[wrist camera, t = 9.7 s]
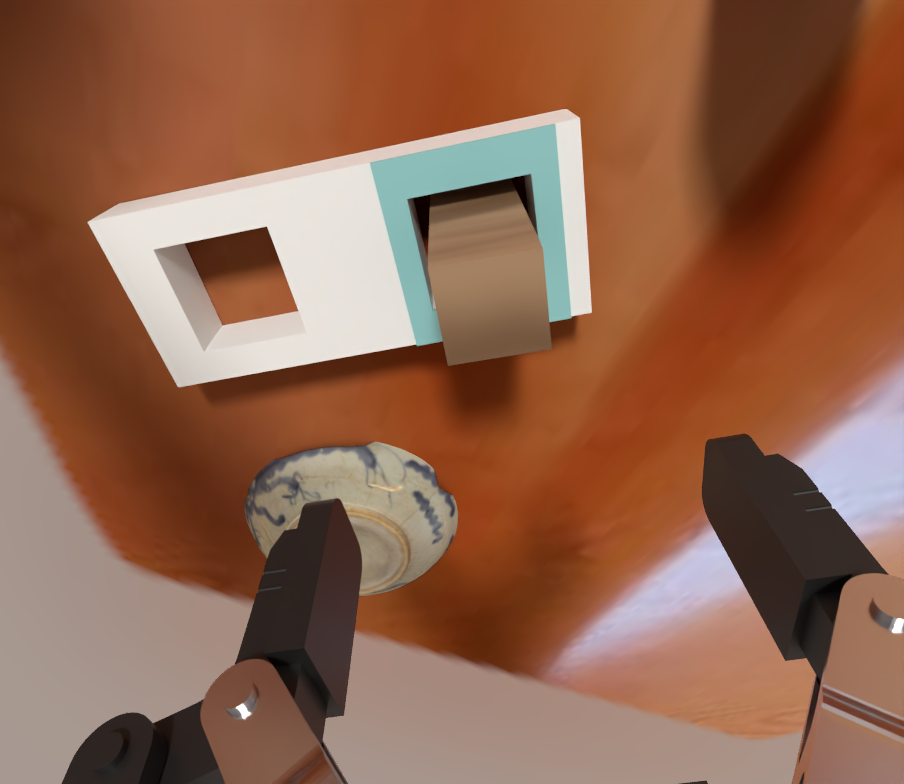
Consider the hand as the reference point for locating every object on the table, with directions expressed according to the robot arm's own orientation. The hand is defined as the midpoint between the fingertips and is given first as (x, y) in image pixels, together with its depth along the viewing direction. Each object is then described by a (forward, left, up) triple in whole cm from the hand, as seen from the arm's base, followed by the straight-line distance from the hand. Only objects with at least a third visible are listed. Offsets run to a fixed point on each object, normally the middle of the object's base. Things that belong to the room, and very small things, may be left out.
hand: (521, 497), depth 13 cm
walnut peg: (0, 0, -20) cm, 20 cm away
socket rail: (0, -6, -20) cm, 20 cm away
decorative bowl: (+19, -12, -20) cm, 30 cm away
